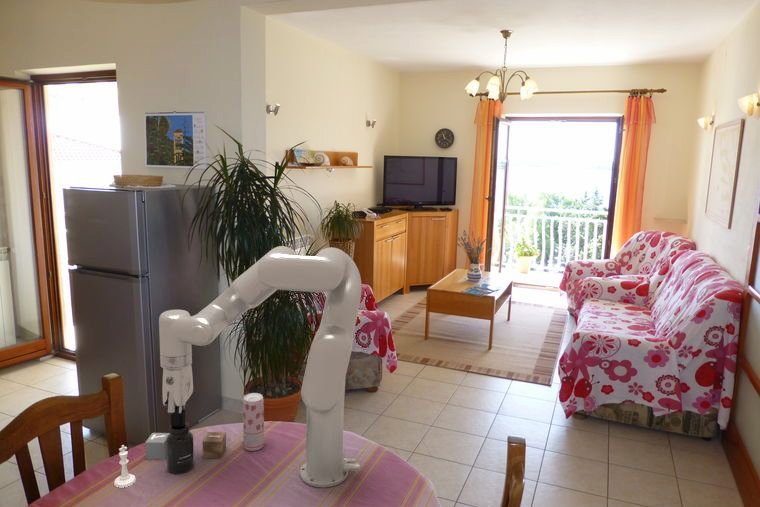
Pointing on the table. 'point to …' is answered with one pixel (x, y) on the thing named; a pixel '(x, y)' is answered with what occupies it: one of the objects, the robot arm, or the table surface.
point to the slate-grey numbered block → (156, 446)
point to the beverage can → (253, 421)
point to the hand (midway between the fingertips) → (178, 424)
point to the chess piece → (124, 471)
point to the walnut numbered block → (214, 445)
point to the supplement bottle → (179, 449)
